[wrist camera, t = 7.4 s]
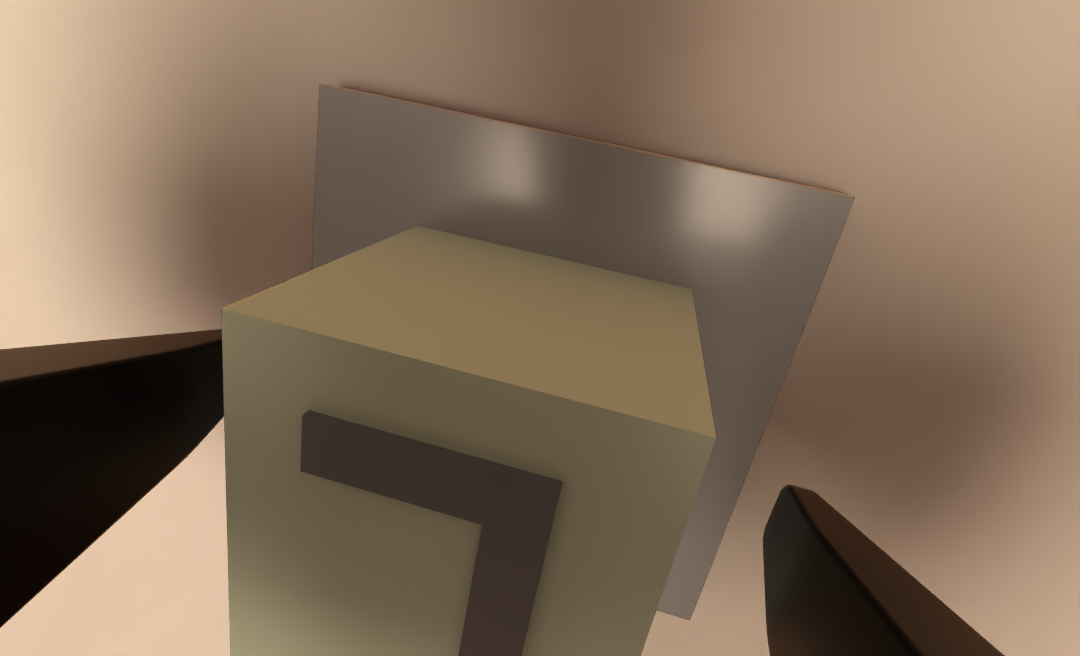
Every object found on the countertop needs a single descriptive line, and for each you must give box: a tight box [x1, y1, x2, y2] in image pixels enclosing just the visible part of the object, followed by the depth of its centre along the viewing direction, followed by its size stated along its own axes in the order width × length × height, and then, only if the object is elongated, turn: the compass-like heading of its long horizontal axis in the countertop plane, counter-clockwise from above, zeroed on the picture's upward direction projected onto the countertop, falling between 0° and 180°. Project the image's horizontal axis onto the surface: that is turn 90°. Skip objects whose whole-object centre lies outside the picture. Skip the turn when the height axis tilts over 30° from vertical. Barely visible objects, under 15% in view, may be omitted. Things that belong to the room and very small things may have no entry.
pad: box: [312, 84, 855, 620], centre depth 11 cm, size 9×9×1 cm
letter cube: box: [221, 226, 716, 656], centre depth 9 cm, size 5×5×5 cm
